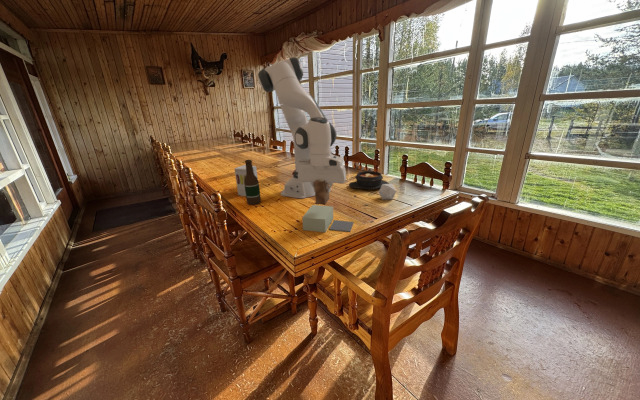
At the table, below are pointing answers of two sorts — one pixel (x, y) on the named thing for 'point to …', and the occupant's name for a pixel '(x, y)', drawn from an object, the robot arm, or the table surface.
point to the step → (318, 218)
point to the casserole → (368, 180)
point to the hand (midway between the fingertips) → (322, 191)
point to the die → (387, 191)
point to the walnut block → (321, 192)
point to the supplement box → (242, 178)
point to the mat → (341, 226)
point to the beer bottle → (251, 185)
